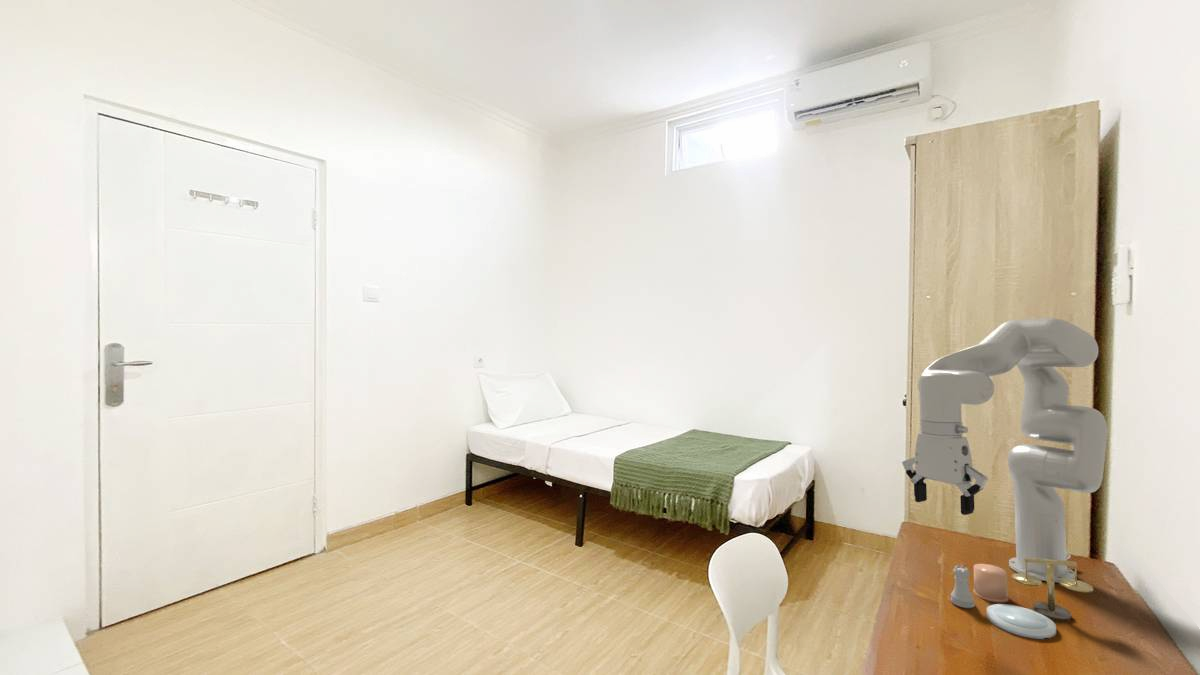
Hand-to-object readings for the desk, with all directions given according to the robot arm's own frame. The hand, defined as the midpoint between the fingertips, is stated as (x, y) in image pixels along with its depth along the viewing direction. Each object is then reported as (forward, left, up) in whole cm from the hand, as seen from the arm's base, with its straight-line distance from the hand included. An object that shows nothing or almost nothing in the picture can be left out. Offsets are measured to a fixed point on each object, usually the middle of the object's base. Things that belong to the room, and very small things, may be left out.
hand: (943, 507), depth 110 cm
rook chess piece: (-6, 0, -23) cm, 23 cm away
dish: (-8, +10, -22) cm, 26 cm away
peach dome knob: (-15, +1, -23) cm, 27 cm away
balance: (-18, +11, -22) cm, 31 cm away
